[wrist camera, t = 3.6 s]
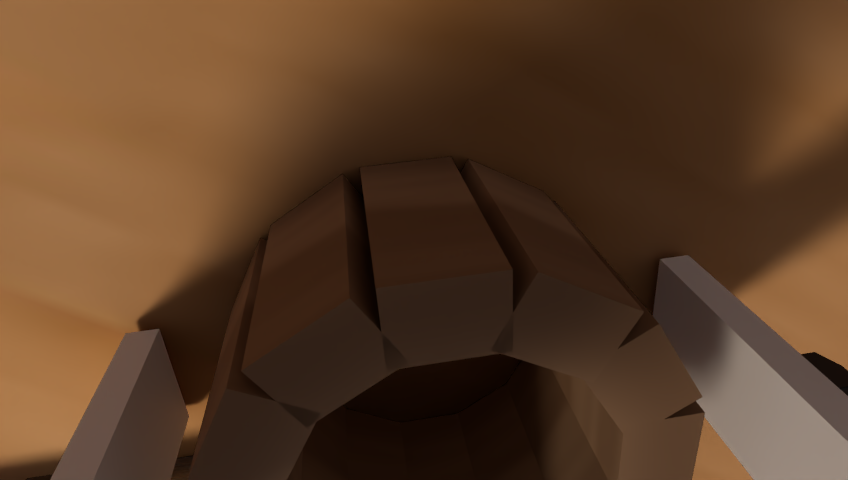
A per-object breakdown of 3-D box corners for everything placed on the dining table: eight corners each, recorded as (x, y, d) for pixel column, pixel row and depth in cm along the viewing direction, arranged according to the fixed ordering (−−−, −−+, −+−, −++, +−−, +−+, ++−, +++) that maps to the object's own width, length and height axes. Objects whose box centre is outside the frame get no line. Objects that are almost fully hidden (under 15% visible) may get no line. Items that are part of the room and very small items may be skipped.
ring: (193, 186, 13) (120, 323, 8) (603, 138, 13) (738, 238, 9) (274, 483, 17) (255, 679, 12) (583, 432, 18) (668, 599, 13)
